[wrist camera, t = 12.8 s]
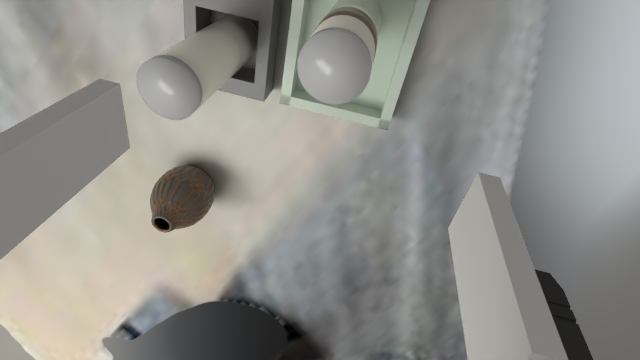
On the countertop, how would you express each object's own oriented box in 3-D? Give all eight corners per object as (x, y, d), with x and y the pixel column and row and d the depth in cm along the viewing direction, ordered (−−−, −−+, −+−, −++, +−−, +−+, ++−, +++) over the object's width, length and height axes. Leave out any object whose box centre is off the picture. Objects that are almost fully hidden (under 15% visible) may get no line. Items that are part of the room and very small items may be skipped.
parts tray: (315, -125, 28) (308, -128, 26) (456, -93, 28) (461, -93, 26) (286, 93, 39) (279, 103, 37) (388, 118, 39) (387, 130, 37)
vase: (229, 198, 49) (200, 246, 42) (184, 202, 51) (150, 248, 44) (209, 154, 46) (174, 197, 39) (162, 160, 47) (120, 202, 40)
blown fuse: (337, -16, 32) (302, 21, 21) (388, -4, 32) (381, 40, 21) (327, 37, 35) (291, 95, 23) (374, 48, 34) (361, 112, 23)
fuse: (216, 9, 35) (132, 51, 24) (261, 19, 35) (196, 67, 24) (216, 54, 38) (140, 111, 27) (257, 64, 38) (198, 126, 27)
